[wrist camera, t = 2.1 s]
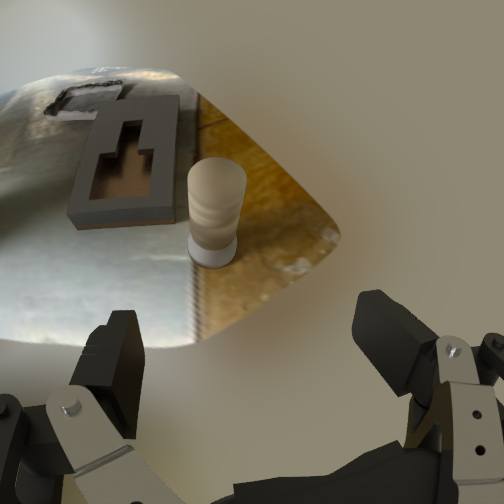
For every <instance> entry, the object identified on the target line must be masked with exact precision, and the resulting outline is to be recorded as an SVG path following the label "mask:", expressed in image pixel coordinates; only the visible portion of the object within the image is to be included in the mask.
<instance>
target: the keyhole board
mask: <svg viewBox="0 0 504 504" xmlns="http://www.w3.org/2000/svg"><path fill="white" fill-rule="evenodd" d="M179 116H180V101H179V95H163V96H150V97H139V98H130V99H121V100H114V101H107V102H102V103H101V105H100V107H99V110H98V112H97V115H96V117H95V120H94V123H93V125H92V128H91V131H90V133H89V136H88V139H87V142H86V145H85V148H84V151H83V154H82V157H81V160H80V164H79V167H78V170H77V174H76V178H75V181H74V185H73V189H72V193H71V197H70V201H69V205H68V209H67V215H68V217H69V218H70V220H71V221H72V223H73V224H74V226H75V227H76V229H77V230H87V229H100V228H114V227H129V226H145V225H163V224H175V190H176V163H177V144H178V129H179Z"/></svg>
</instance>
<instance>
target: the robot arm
mask: <svg viewBox="0 0 504 504" xmlns="http://www.w3.org/2000/svg"><path fill="white" fill-rule="evenodd" d="M352 336H353V339H354V341H355V343H356V344H357V345H358V346H359V348H360V349H361V350H362V352H364V354H365V355H366V356H367V358H368V359H369V360H370V362H371V363H372V364H373V366H374V367H375V368H376V369H377V370H378V372H379V373H380V374H381V376H382V377H383V378H384V379H385V381H386V382H387V383H388V385H389V386H390V387H391V389H392V390H393V391H394V393H395V394H396V395H397V396H398V397H400V396H403V395H406V394H408V393H410V392H411V394H412V397H411V399H410V402H409V413H408V424H407V433H406V440H405V444H404V447H403V448H402V446H401V445H400V443H399V442H398V440H396V441H394V442H391V443H389V444H386V445H384V446H382V447H379V448H377V449H374V450H372V451H369V452H366V453H364V454H362V455H361V456H359V457H358V458H356V459H354V460H353V461H351V462H350V463H348V464H347V465H345V466H343V467H342V468H340V469H338V470H337V471H335V472H334V473H331V474H329V475H325V476H310V477H277V478H272V479H266V480H259V481H253V482H246V483H238V484H233V488H234V494H232V495H229V496H226V497H224V498H221V499H219V500H217V501H215V502H213V503H211V504H504V406H503V405H502V404H501V403H500V402H499V400H498V399H497V398H496V397H495V392H494V389H493V386H494V384H495V383H496V381H497V379H498V378H499V376H500V377H501V378H502V379H503V380H504V336H502V335H500V334H497V333H488V334H486V335H485V337H484V339H483V341H482V344H481V345H480V346H477V347H470V346H469V345H468V344H467V343H466V342H465V341H464V340H462V339H460V338H457V337H453V336H443V337H438V336H437V335H436V334H435V333H434V332H433V331H432V330H431V329H430V328H428V327H427V326H426V325H425V324H424V323H422V322H421V321H420V320H418V319H417V317H416V316H414V315H413V314H411V312H410V311H409V310H407V309H406V308H405V307H404V306H403V305H401V304H399V303H397V302H395V301H393V300H392V299H391V298H389V297H388V296H387V295H386V294H385V293H384V292H382V291H381V290H379V289H378V290H371V291H364V292H361V293H360V294H359V296H358V300H357V305H356V310H355V315H354V319H353V324H352ZM144 353H145V352H144V346H143V342H142V338H141V333H140V329H139V324H138V320H137V315H136V312H135V311H134V310H116V311H112V313H111V316H110V318H109V320H108V323H107V325H99V326H98V327H97V328H96V329H95V330H94V331H93V332H92V333H91V334H90V335H89V338H88V340H87V342H86V346H85V347H84V349H83V351H82V355H81V356H80V358H79V361H78V363H77V366H76V368H75V371H74V373H73V376H72V378H71V381H70V383H69V385H68V386H64V387H61V388H59V389H57V390H56V391H55V392H53V394H51V396H50V397H49V399H48V401H47V403H46V404H45V405H39V406H32V407H22V406H21V404H20V402H19V401H18V399H16V398H15V397H14V396H13V395H10V394H0V504H61V497H62V487H63V479H64V474H73V477H74V480H75V482H76V483H77V485H78V487H79V489H80V490H81V492H82V493H83V495H84V497H85V498H86V500H87V501H88V503H89V504H185V502H183V501H182V500H181V499H180V498H179V497H178V496H177V495H176V494H175V493H174V492H173V491H172V490H171V489H170V488H169V487H168V486H167V485H166V484H165V483H164V482H163V481H162V480H161V479H160V477H159V476H158V475H157V474H156V473H155V472H154V471H153V470H152V469H151V468H150V467H149V465H148V464H147V463H146V462H145V461H144V460H143V458H142V457H141V456H140V455H139V454H138V453H137V451H136V450H135V449H134V448H133V447H132V446H131V445H130V446H129V445H128V444H127V443H126V442H125V440H124V439H136V430H137V419H138V411H139V402H140V394H141V387H142V380H143V373H144V366H145V354H144ZM19 463H20V467H19ZM18 468H19V472H18ZM17 472H18V477H17V481H16V476H17ZM15 482H16V487H15Z"/></svg>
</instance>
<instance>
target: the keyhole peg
mask: <svg viewBox="0 0 504 504" xmlns="http://www.w3.org/2000/svg"><path fill="white" fill-rule="evenodd" d="M246 184H247V177H246V174H245V172H244V170H243V169H242V167H241V166H240V165H239V164H237V163H236V162H234V161H232V160H230V159H227V158H223V157H210V158H206V159H203V160H201V161H199V162H197V163H196V164H195V165H194V166H193V167H192V168H191V169H190V171H189V173H188V200H189V217H190V233H189V236H188V241H187V243H188V251H189V254H190V257H191V258H192V260H193V261H194V262H195V263H196V264H198V265H199V266H201V267H204V268H207V269H217V268H221V267H223V266H225V265H227V264H228V263H229V262H230V261H231V260H232V259H233V257H234V255H235V252H236V248H237V237H236V230H237V225H238V221H239V216H240V211H241V207H242V202H243V198H244V193H245V188H246Z"/></svg>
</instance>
